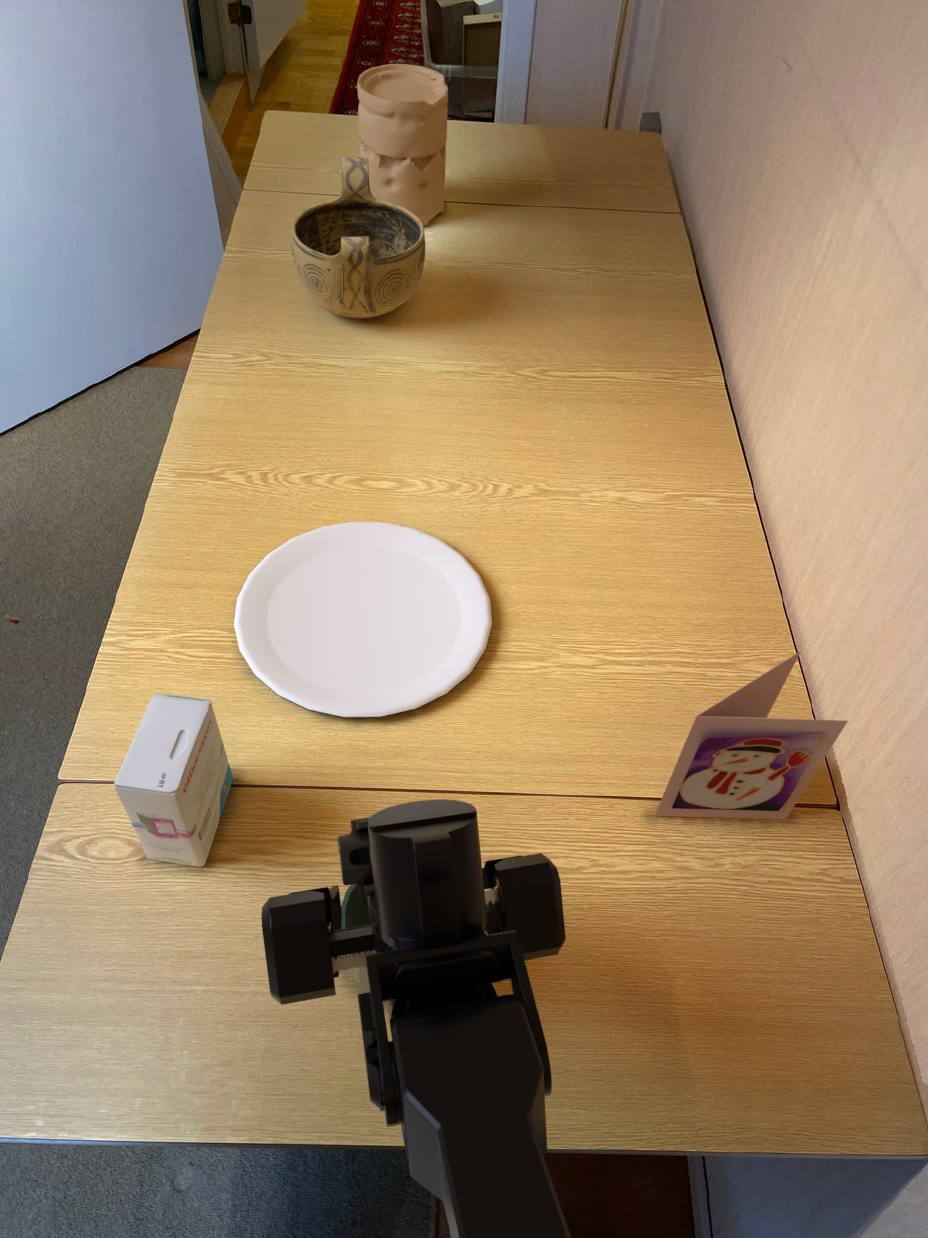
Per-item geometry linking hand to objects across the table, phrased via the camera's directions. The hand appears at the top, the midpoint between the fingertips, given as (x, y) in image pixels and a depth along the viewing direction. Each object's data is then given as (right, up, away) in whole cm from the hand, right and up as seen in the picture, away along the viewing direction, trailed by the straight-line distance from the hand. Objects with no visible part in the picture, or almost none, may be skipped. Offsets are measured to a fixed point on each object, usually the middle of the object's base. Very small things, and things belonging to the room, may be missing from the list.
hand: (400, 881), depth 70 cm
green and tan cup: (0, -6, +5) cm, 8 cm away
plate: (-5, +19, +26) cm, 33 cm away
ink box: (-18, +2, +11) cm, 22 cm away
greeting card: (+27, +4, +16) cm, 31 cm away
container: (-5, +81, +79) cm, 113 cm away
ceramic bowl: (-9, +61, +61) cm, 87 cm away
